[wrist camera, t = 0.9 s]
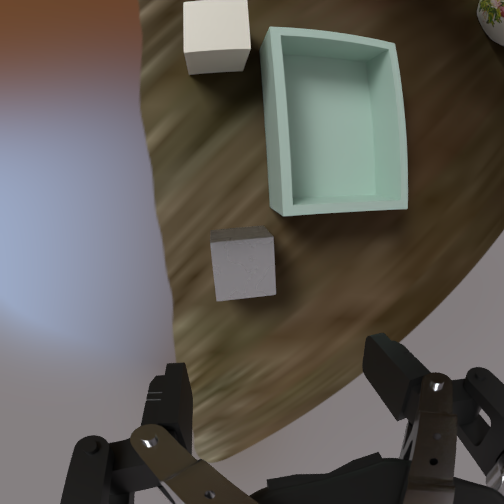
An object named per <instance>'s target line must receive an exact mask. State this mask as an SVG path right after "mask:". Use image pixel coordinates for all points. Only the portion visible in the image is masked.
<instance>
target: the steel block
mask: <svg viewBox="0 0 504 504" xmlns="http://www.w3.org/2000/svg"><path fill="white" fill-rule="evenodd" d="M210 245H211V254H212V264H213V273H214V282H215V291H216V299H217V301H224V300H234V299H243V298H252V297H261V296H270V295H276V280H275V257H274V237H273V236H272V235H271V233H270V232H269V231H268V230H267V229H266V228H265V227H264V226H252V227H241V228H230V229H220V230H211V235H210Z"/></svg>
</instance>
